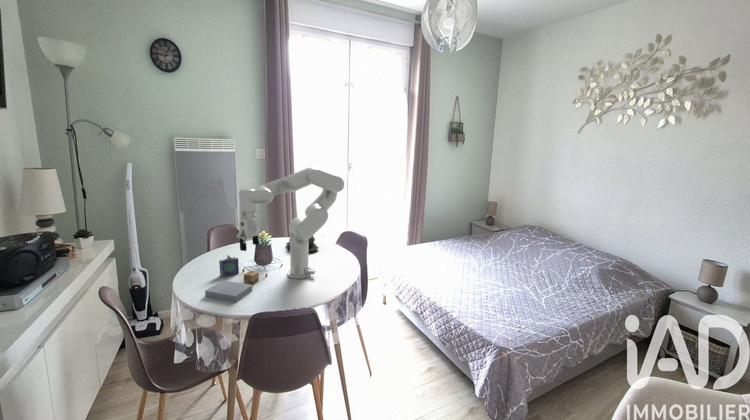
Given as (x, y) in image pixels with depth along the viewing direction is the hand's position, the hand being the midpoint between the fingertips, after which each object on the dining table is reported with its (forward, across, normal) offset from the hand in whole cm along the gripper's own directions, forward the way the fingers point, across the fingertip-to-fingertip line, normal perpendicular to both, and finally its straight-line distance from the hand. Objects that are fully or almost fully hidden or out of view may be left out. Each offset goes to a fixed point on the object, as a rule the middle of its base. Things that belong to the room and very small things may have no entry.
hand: (249, 247), depth 160 cm
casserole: (+19, +56, +1) cm, 59 cm away
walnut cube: (+18, 0, 0) cm, 19 cm away
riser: (+18, -14, +1) cm, 23 cm away
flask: (+19, +3, +16) cm, 25 cm away
